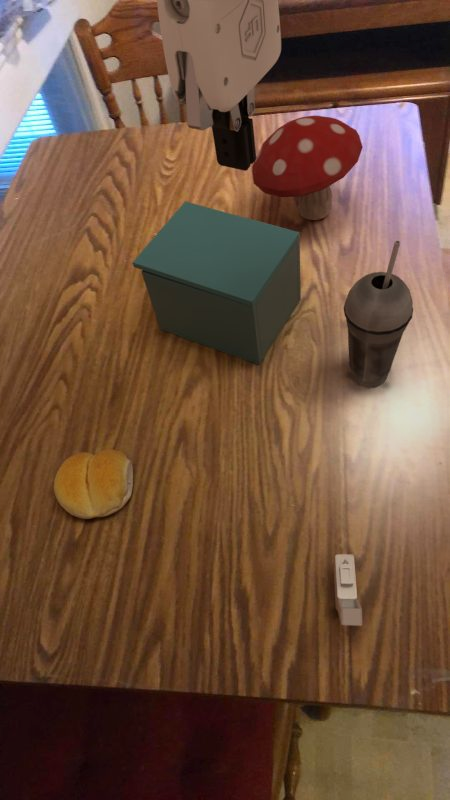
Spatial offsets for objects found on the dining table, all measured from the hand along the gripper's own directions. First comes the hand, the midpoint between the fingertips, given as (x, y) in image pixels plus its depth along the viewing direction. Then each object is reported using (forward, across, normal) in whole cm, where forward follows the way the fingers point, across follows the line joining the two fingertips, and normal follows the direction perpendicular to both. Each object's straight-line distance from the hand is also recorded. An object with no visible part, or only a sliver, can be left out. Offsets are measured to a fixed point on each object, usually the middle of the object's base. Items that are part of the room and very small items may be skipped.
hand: (237, 162), depth 51 cm
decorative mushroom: (+28, +28, +7) cm, 40 cm away
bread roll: (+28, -25, +8) cm, 38 cm away
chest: (+28, +4, +7) cm, 29 cm away
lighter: (+28, -24, -22) cm, 43 cm away
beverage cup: (+28, +3, -14) cm, 31 cm away
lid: (+17, +5, +8) cm, 19 cm away
